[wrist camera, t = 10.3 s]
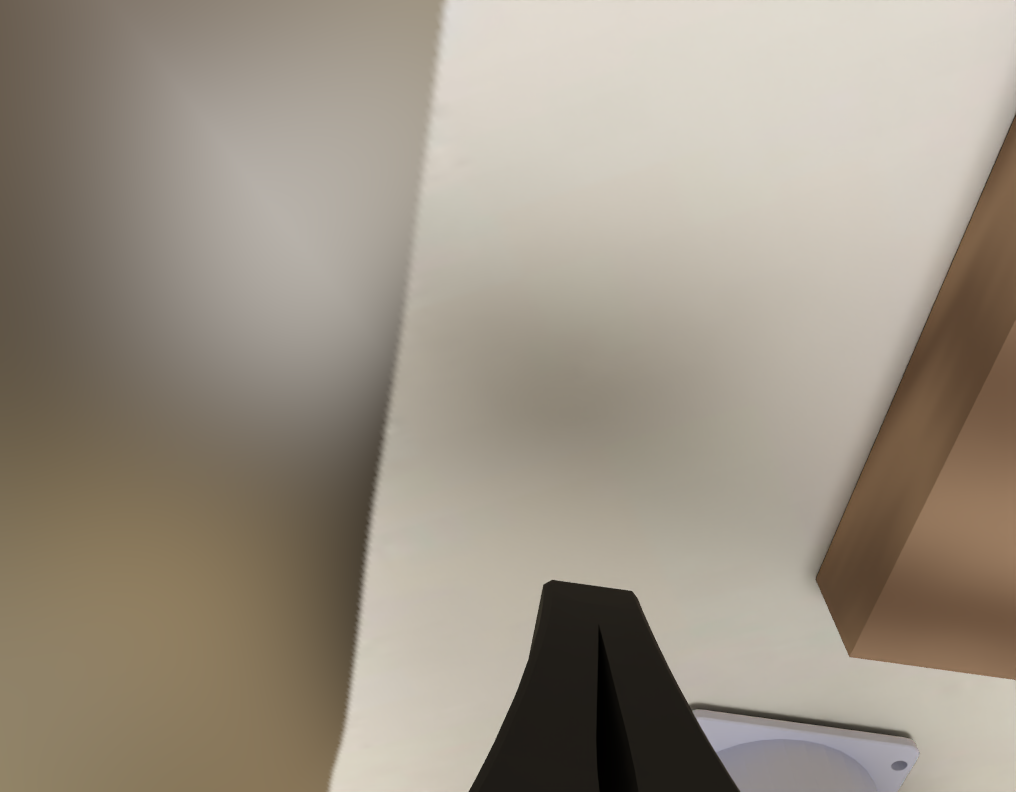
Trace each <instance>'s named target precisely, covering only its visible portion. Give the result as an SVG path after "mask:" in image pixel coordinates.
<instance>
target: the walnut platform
mask: <svg viewBox="0 0 1016 792" xmlns="http://www.w3.org/2000/svg"><path fill="white" fill-rule="evenodd" d="M816 581H817V583H818V586H819V588H820V590H821V593H822V595H823V597H824V599H825V602H826V604H827V606H828V609H829V611H830V613H831V616H832V618H833V620H834V622H835V625H836V627H837V629H838V632H839V634H840V636H841V639H842V641H843V643H844V645H845V648H846V650H847V652H848V655H849V657H854V658H861V659H868V660H876V661H883V662H890V663H897V664H905V665H912V666H919V667H926V668H934V669H941V670H948V671H955V672H963V673H970V674H977V675H984V676H992V677H999V678H1006V679H1013V680H1016V116H1015V118H1014V121H1013V123H1012V125H1011V128H1010V130H1009V132H1008V135H1007V137H1006V139H1005V142H1004V144H1003V146H1002V149H1001V151H1000V153H999V156H998V158H997V160H996V162H995V165H994V167H993V169H992V172H991V174H990V176H989V179H988V181H987V183H986V186H985V188H984V190H983V193H982V195H981V197H980V200H979V202H978V204H977V207H976V209H975V211H974V214H973V216H972V218H971V220H970V223H969V225H968V227H967V230H966V232H965V234H964V237H963V239H962V241H961V244H960V246H959V248H958V251H957V253H956V255H955V258H954V260H953V262H952V265H951V267H950V269H949V271H948V274H947V276H946V278H945V281H944V283H943V285H942V288H941V290H940V292H939V295H938V297H937V299H936V302H935V304H934V306H933V309H932V311H931V313H930V316H929V318H928V320H927V323H926V325H925V327H924V329H923V332H922V334H921V336H920V339H919V341H918V343H917V346H916V348H915V350H914V353H913V355H912V357H911V360H910V362H909V364H908V367H907V369H906V371H905V374H904V376H903V378H902V381H901V383H900V385H899V387H898V390H897V392H896V394H895V397H894V399H893V401H892V404H891V406H890V408H889V411H888V413H887V415H886V418H885V420H884V422H883V425H882V427H881V429H880V432H879V434H878V436H877V438H876V441H875V443H874V445H873V448H872V450H871V452H870V455H869V457H868V459H867V462H866V464H865V466H864V469H863V471H862V473H861V476H860V478H859V480H858V483H857V485H856V487H855V490H854V492H853V494H852V496H851V499H850V501H849V503H848V506H847V508H846V510H845V513H844V515H843V517H842V520H841V522H840V524H839V527H838V529H837V531H836V534H835V536H834V538H833V541H832V543H831V545H830V547H829V550H828V552H827V554H826V557H825V559H824V561H823V564H822V566H821V568H820V571H819V573H818V575H817V578H816Z"/></svg>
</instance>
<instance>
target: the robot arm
mask: <svg viewBox="0 0 1016 792" xmlns="http://www.w3.org/2000/svg"><path fill="white" fill-rule="evenodd" d="M919 755H920V752H919V750H918V748H917V745H916V743H915V742H914V741H913V740H912V739H909V738H905V737H899V736H891V735H884V734H877V733H869V732H862V731H855V730H848V729H840V728H833V727H826V726H818V725H811V724H804V723H796V722H789V721H782V720H775V719H767V718H760V717H753V716H745V715H738V714H731V713H724V712H716V711H709V710H702V709H696V710H691V708H690V706H689V704H688V703H687V701H686V699H685V697H684V695H683V693H682V692H681V690H680V688H679V686H678V684H677V682H676V680H675V678H674V676H673V674H672V673H671V671H670V669H669V667H668V665H667V663H666V660H665V658H664V656H663V654H662V652H661V650H660V648H659V646H658V644H657V642H656V640H655V638H654V635H653V633H652V631H651V629H650V627H649V624H648V622H647V620H646V617H645V615H644V613H643V611H642V608H641V606H640V603H639V601H638V598H637V597H636V596H635V594H634V593H633V592H632V591H628V590H621V589H613V588H606V587H599V586H592V585H584V584H577V583H570V582H563V581H556V580H551V581H549V582H548V583H546V584H544V585H543V590H542V595H541V600H540V605H539V610H538V615H537V620H536V625H535V630H534V635H533V640H532V645H531V650H530V655H529V659H528V662H527V665H526V668H525V671H524V673H523V676H522V679H521V682H520V684H519V687H518V690H517V692H516V695H515V697H514V699H513V702H512V704H511V706H510V708H509V711H508V713H507V715H506V717H505V720H504V722H503V724H502V726H501V729H500V731H499V733H498V735H497V738H496V740H495V742H494V744H493V746H492V748H491V750H490V752H489V754H488V756H487V758H486V760H485V762H484V764H483V766H482V768H481V770H480V772H479V774H478V775H477V777H476V779H475V781H474V783H473V785H472V787H471V788H470V790H469V792H898V790H899V789H900V787H901V785H902V784H903V782H904V780H905V779H906V777H907V775H908V774H909V772H910V771H911V769H912V767H913V766H914V764H915V762H916V761H917V759H918V758H919Z"/></svg>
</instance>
